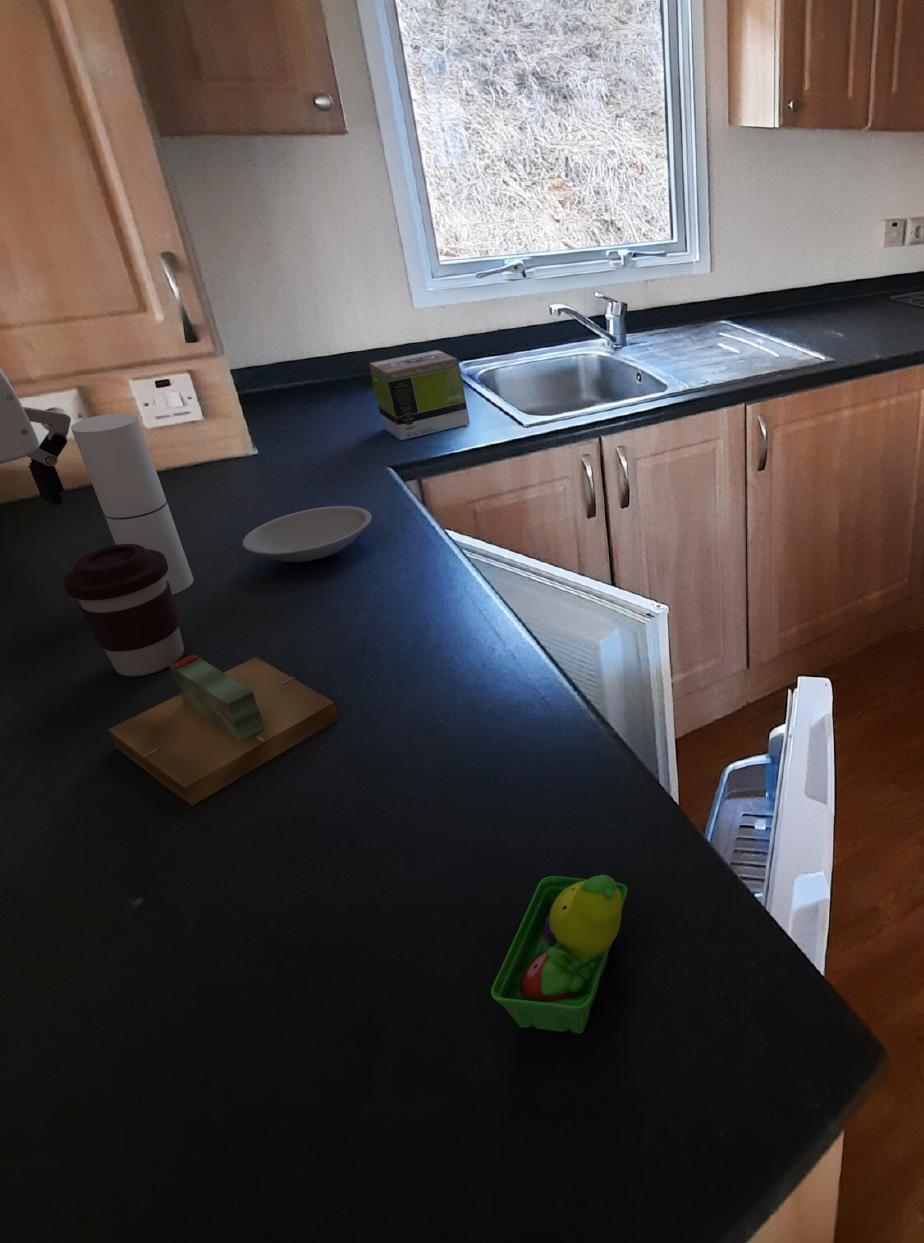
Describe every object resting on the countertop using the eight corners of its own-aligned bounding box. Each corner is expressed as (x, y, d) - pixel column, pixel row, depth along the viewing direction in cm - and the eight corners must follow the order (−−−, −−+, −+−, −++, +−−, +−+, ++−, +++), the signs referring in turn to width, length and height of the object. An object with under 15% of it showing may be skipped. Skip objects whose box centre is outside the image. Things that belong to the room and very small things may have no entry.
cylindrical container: (149, 604, 120) (85, 436, 108) (125, 589, 123) (60, 424, 112) (203, 582, 125) (147, 420, 114) (178, 569, 128) (122, 409, 117)
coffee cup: (83, 673, 105) (37, 567, 99) (162, 631, 114) (124, 531, 107) (138, 693, 102) (94, 584, 96) (215, 648, 111) (180, 545, 104)
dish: (361, 524, 142) (354, 497, 140) (391, 556, 133) (385, 527, 130) (241, 557, 132) (232, 528, 130) (264, 595, 122) (255, 564, 120)
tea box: (451, 413, 191) (439, 348, 184) (470, 425, 184) (459, 358, 178) (382, 429, 182) (367, 360, 175) (400, 442, 175) (385, 371, 169)
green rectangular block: (265, 728, 93) (252, 689, 91) (240, 741, 91) (226, 702, 89) (207, 690, 99) (193, 652, 96) (183, 702, 97) (168, 664, 95)
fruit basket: (548, 914, 76) (533, 820, 71) (647, 924, 75) (638, 829, 70) (495, 1041, 65) (473, 942, 60) (609, 1054, 65) (596, 954, 60)
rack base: (191, 807, 86) (183, 787, 85) (113, 747, 94) (105, 728, 93) (340, 719, 99) (335, 700, 97) (261, 672, 106) (255, 655, 105)
